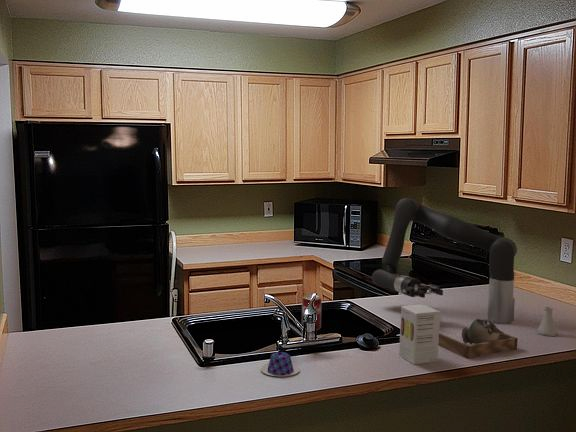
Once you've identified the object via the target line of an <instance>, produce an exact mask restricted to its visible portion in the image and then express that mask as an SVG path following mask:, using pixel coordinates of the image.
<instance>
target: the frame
mask: <svg viewBox="0 0 576 432" xmlns="http://www.w3.org/2000/svg"><path fill="white" fill-rule="evenodd" d="M438 347H440V348H443V349H445V350H448V351H450V352H451V353H453V354H456V355H458V356H460V357H463V358H465V359H471V358H477V357H482V356H488V355H493V354H499V353H500V354H501V353H504V352H510V351H512V352H513V351H517V350H518V338H517V337H515V336H512V335H510V334H507V333H505V332H504V333H500V335H499V339H498V340H495V341H489V342H483V343H477V344H475V343H472V344H467V343H466V344H465V343H464V342H461V341H459V340H457V339H454V338H452V337H450V336H447V335H446V334H442V333H440V332H439V343H438Z"/></svg>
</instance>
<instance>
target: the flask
mask: <svg viewBox="0 0 576 432" xmlns="http://www.w3.org/2000/svg"><path fill="white" fill-rule="evenodd" d="M543 309H544V312H543V313H544V314H543V317H542V320H541V322H540V323H539V326H538V328H537V331H536V333H537V335H542V336H549V337H555V336H558V332H557V328H556V324H555V322H554V318H553V310H554V307H551V306H544V307H543Z"/></svg>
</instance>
